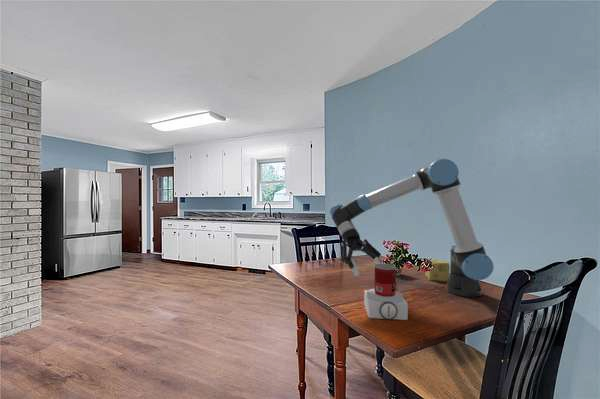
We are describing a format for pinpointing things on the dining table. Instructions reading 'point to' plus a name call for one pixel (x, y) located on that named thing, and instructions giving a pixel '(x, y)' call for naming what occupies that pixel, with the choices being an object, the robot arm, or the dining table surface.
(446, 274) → the cheese
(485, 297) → the dining table surface
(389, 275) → the canned food
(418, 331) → the dining table surface
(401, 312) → the kitchen scale
